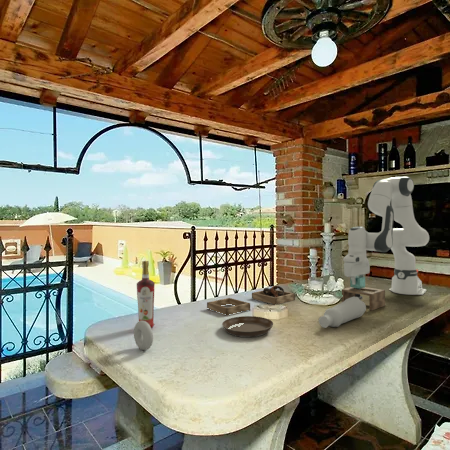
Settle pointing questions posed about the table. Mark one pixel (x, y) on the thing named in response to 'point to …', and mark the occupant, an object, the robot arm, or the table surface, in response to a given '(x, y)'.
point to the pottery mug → (273, 291)
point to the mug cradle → (273, 300)
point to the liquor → (146, 296)
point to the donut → (143, 335)
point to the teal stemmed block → (358, 285)
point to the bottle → (343, 312)
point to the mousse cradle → (237, 308)
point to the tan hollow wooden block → (374, 297)
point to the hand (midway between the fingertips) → (357, 283)
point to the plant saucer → (248, 326)
